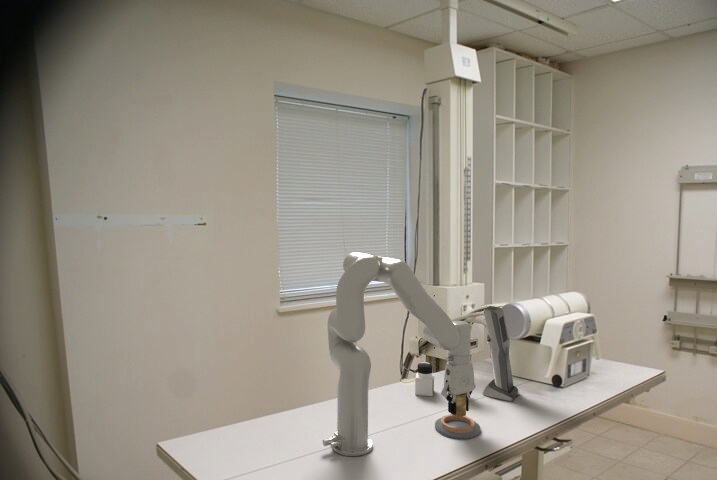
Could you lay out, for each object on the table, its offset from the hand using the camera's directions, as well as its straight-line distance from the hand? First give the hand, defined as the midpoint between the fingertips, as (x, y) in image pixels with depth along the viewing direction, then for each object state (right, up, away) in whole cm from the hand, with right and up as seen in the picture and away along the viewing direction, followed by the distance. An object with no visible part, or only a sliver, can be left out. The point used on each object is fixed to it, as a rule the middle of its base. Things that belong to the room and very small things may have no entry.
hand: (458, 410), depth 154 cm
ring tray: (0, -6, 0) cm, 6 cm away
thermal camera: (+24, -5, +31) cm, 40 cm away
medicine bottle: (-7, -5, +32) cm, 34 cm away
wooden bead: (0, -1, 0) cm, 1 cm away
